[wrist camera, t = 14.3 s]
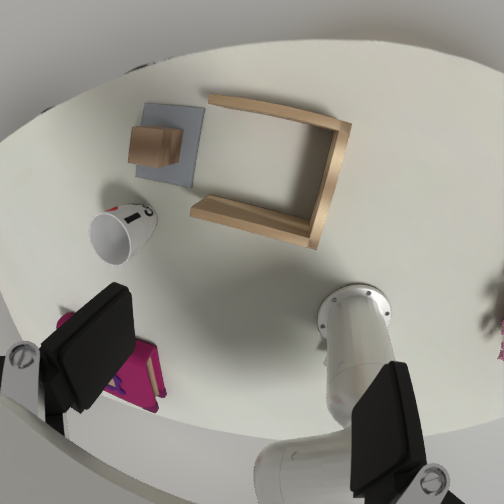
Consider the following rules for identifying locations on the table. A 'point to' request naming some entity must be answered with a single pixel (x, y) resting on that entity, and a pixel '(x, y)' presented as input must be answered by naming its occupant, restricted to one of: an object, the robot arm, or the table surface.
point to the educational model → (503, 353)
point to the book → (136, 376)
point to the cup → (121, 232)
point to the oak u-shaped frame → (268, 219)
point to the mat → (192, 125)
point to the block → (155, 146)
